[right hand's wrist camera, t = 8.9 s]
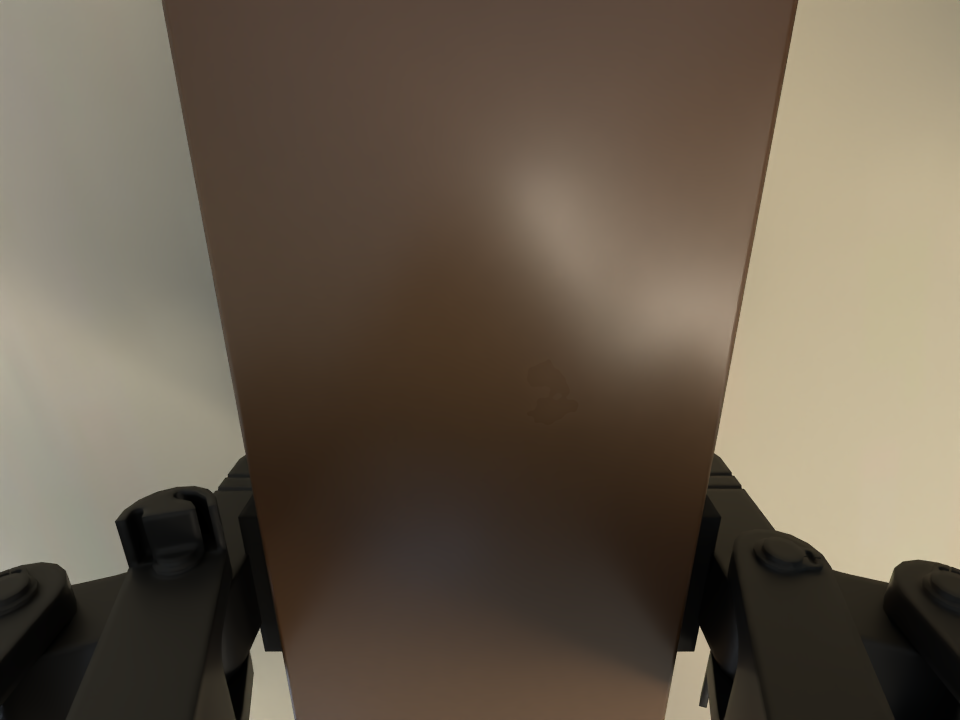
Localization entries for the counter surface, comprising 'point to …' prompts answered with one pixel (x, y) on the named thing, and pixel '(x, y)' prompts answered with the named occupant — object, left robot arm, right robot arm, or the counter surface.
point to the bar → (479, 328)
